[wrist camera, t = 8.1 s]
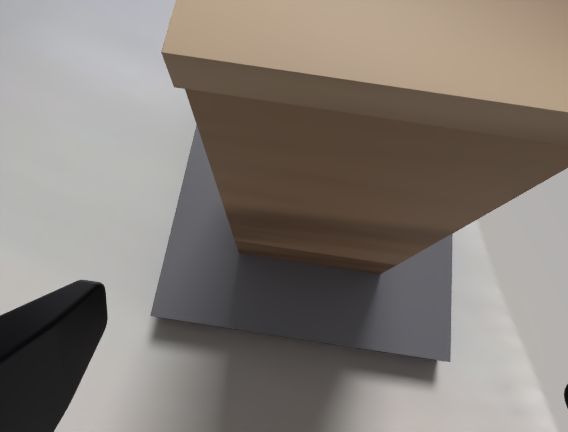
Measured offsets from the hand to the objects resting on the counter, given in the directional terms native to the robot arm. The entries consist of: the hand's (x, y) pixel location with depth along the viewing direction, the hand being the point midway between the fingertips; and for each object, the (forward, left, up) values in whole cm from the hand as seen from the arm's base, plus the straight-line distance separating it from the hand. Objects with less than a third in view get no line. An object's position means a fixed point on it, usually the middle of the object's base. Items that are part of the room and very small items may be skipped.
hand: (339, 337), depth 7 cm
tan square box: (+6, -2, -9) cm, 11 cm away
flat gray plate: (+6, -2, -10) cm, 11 cm away
